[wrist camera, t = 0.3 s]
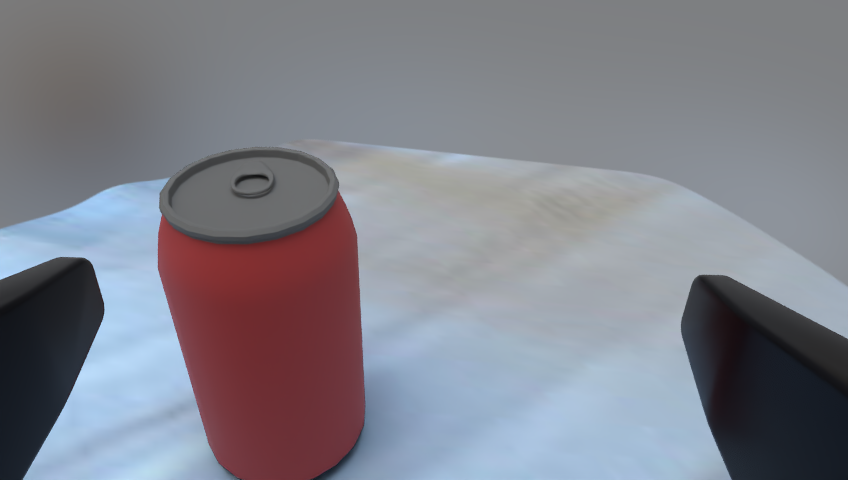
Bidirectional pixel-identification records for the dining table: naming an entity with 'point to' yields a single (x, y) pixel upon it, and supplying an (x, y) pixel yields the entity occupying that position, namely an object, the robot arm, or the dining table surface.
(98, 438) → the dining table surface
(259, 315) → the beer can
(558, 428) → the dining table surface
